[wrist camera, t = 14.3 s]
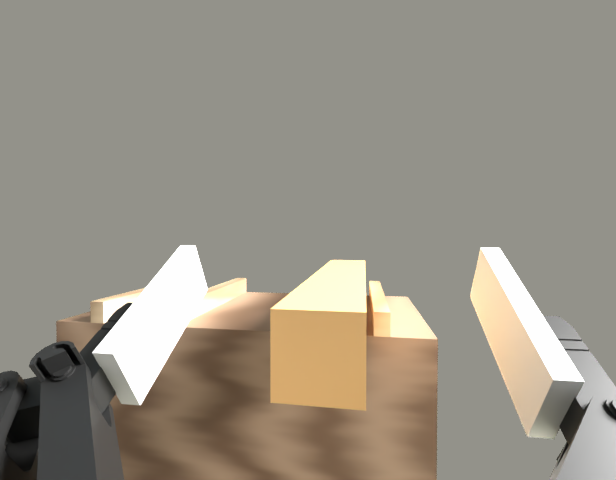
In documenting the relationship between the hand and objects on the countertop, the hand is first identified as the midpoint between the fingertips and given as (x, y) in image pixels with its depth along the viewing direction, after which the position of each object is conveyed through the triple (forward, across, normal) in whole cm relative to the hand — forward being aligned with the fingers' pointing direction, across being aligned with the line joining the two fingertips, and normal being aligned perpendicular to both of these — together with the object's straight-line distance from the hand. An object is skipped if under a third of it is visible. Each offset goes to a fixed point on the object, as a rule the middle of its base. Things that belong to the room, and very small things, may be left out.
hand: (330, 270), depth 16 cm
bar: (+5, 0, -8) cm, 9 cm away
